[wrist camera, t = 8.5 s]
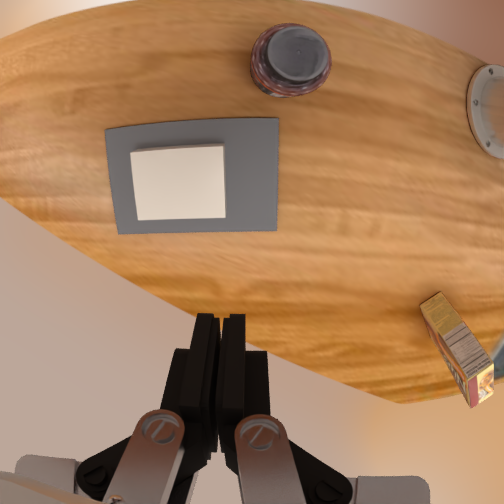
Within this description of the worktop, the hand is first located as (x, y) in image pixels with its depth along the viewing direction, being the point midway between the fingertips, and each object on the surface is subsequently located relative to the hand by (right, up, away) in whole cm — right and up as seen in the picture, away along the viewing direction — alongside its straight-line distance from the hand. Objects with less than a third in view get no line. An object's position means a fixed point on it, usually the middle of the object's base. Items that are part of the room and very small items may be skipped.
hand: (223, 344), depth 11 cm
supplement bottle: (+4, +21, +16) cm, 27 cm away
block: (-2, +10, +19) cm, 22 cm away
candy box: (+29, -6, +30) cm, 42 cm away
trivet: (-5, +11, +21) cm, 24 cm away
